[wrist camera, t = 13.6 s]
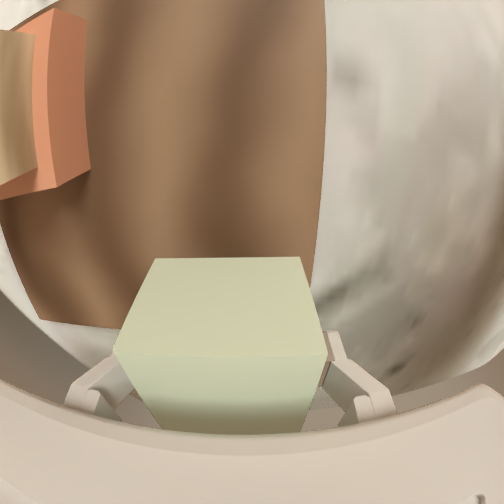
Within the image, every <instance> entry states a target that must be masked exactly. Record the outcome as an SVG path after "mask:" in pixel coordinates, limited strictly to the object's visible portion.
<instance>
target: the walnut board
mask: <svg viewBox="0 0 504 504" xmlns="http://www.w3.org/2000/svg"><path fill="white" fill-rule="evenodd" d="M53 8H57V9H59V10H62V11H65V12H67V13H70V14H72V15H75V16H77V17H80V18H82V19H84V20H87V21H88V23H87V33H86V46H85V70H84V90H85V115H86V129H87V140H88V149H89V158H90V165H91V169H90V170H88V171H86V172H84V173H82V174H80V175H78V176H77V177H75V178H73V179H71V180H69V181H67V182H66V183H64V184H62V185H60V186H58V187H56V188H51V189H46V190H41V191H36V192H32V193H27V194H23V195H19V196H15V197H11V198H7V199H3V200H0V224H1V227H2V230H3V233H4V237H5V240H6V243H7V246H8V248H9V251H10V254H11V257H12V259H13V262H14V265H15V267H16V270H17V272H18V274H19V277H20V279H21V281H22V284H23V286H24V288H25V290H26V292H27V295H28V297H29V299H30V301H31V303H32V305H33V307H34V309H35V311H36V313H37V315H38V317H39V318H40V319H42V320H48V321H55V322H61V323H69V324H77V325H85V326H94V327H103V328H114V329H121V328H122V326H123V324H124V322H125V319H126V317H127V315H128V313H129V311H130V309H131V306H132V304H133V302H134V300H135V298H136V296H137V294H138V292H139V290H140V288H141V286H142V284H143V282H144V280H145V278H146V276H147V274H148V272H149V270H150V268H151V266H152V264H153V262H154V260H155V258H240V257H300V259H301V262H302V265H303V269H304V272H305V275H306V278H307V281H308V285H309V288H310V284H311V277H312V270H313V262H314V255H315V246H316V238H317V229H318V220H319V210H320V199H321V188H322V175H323V161H324V144H325V123H326V78H327V66H326V24H325V6H324V0H59V1H57V2H55V3H53V4H51V5H49V6H48V7H46V8H44V9H42V10H40V11H39V12H37V13H35V14H34V15H32V16H30V17H29V18H27V19H26V20H24V21H23V22H21V23H20V24H18V25H17V26H15V27H14V28H12V29H11V30H9V31H16V30H18V29H19V28H21V27H22V26H24V25H25V24H27V23H28V22H30V21H32V20H33V19H35V18H37V17H38V16H40V15H42V14H44V13H45V12H47V11H49V10H51V9H53Z"/></svg>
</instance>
